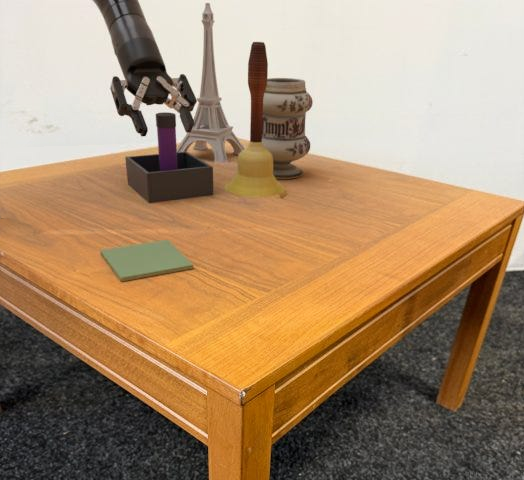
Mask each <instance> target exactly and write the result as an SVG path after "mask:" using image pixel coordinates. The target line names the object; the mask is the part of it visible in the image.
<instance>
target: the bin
mask: <svg viewBox="0 0 524 480" xmlns="http://www.w3.org/2000/svg"><path fill="white" fill-rule="evenodd" d="M124 160H125V167H126V168H125V169H126V178H127V180H126V181H127V185H128V186H129V187H130V188H131V189H132V190H133V191H135V193H137V194H138V195H139V196H140V197H141V198H142V199H143V200H144V201H145V202H147V203H148V204H153V203H162V202H170V201H177V200H187V199H194V198H201V197H210V196H214V166H213V165H211V164H210V163H207V162H205V161H204V160H202V159H201V158H199V157H197V156H195V155H194V154H192V153H191V152H189V151H187V152H177V167H178V170H168V171H160V165H159V153H154V154H143V155H142V154H141V155H131V156H130V155H129V156H125V157H124Z"/></svg>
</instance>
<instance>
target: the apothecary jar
mask: <svg viewBox="0 0 524 480" xmlns="http://www.w3.org/2000/svg"><path fill="white" fill-rule="evenodd" d="M313 104H314V101H313V98H312V95H310V94H309V92H308V91H307V88H306V80H304V79H300V78H291V77H269V78H268V77H267V86H266V90H265V93H264V98H263V120H262V144H263V147H264V148H265V149H266V150H268V151H269V152H270V153H271V154H272V157H273V175H274V177H275V178H276V180H293V179H297V178H300V177H303V175H304V171H303V169H302V168H300V167H299V166H296V165H294V164H291V163H292V162H295V161H297V160H298V161H299V160H300V159H302V158H304V157H305V156H307V154H308V153H309V152H310V151H311V142H310V139H309V138H308V136H306V116H307V113H308V112H309V111H310V110H311V109H312V108H313V107H312V106H313Z"/></svg>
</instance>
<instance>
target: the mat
mask: <svg viewBox="0 0 524 480" xmlns="http://www.w3.org/2000/svg"><path fill="white" fill-rule="evenodd" d="M99 251H100V252H99V253H100V255H101V256H102V257H103V259H104V260H105V262H106V264H107V265H108V266H109V267H110V269H111V270H112V271H113V273H114V274H115V275H116V277H117V278H118V280H119V281H120V282H121V283H122V282H127V281H133V280H138V279H144V278H149V277H150V278H151V277H155V276H160V275H167V274H171V273H176V272H182V271H187V270H193V269H194V264H193V263H192V261H190V260H189V259H188V257H186V256H185V255H184V254H183V253H182V252H181V251H180V250H179V249H178V248H177V247H176V246H175V245H174V244H173V243H172V242H171V241H170V240H169V239H162V240H156V241H150V242H149V241H148V242H143V243H136V244H130V245H123V246H118V247H112V248H105V249H100V250H99Z"/></svg>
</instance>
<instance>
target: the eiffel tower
mask: <svg viewBox="0 0 524 480" xmlns="http://www.w3.org/2000/svg"><path fill="white" fill-rule="evenodd" d="M201 15H202V17H201V23H202V25H203V51H202V53H203V54H202V69H201V81H200V82H201V84H200V91H199V97H196V99H197V107H196V110H195V113H194V116H193V120H194V126H193V128H192V130H191V132H188V133H186V134H185V136H184V137H183V139H182V140H181V142H180V143H179V145H178V146H177V152H188V150H189V148H190V147H191V146H192V145H193V144H194V145H193V146H192V150H198V151H204V150H207V149H208V148H209V146H210V148H211V149H212V151H213V155H214V156H213V157H214V160H213V161H214V162H213V163H230V161H229V159H228V156H227V153H226V146H225V145H226V142H228V143H229V144H230V146H231V147H232V149H233V152H232V154H233V155H235V156H236V155H237V156H239V153H240V152H241V151H243V150H244V149H246V147H244V144H242V142H241V141H240V139H239V138H238V137H237V135H236V134H235V133H234V131H233V129H234V126H231V125H229V122H228V120H227V117H226V115H225V113H224V110H223V107H222V103H221V101H222V97H220V95H219V88H218V81H217V80H218V79H217V71H216V63H215V51H214V49H215V48H214V33H213V32H214V31H213V27H214V23H215V19H214V12H213V11H212V7H211V3H210V2H205V5H204V10H203V11H202V14H201ZM207 144H208V145H209V146H208V145H207Z"/></svg>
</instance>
